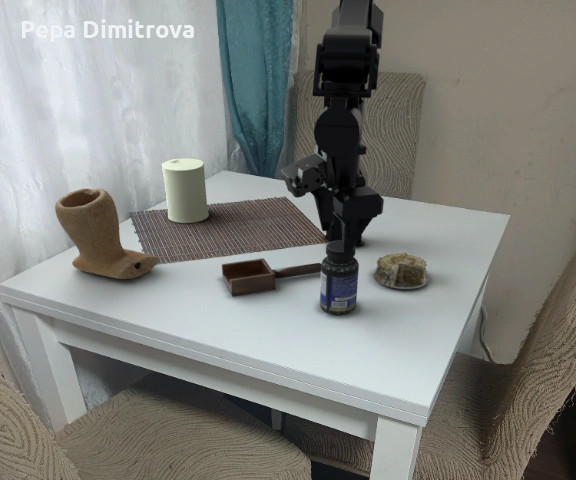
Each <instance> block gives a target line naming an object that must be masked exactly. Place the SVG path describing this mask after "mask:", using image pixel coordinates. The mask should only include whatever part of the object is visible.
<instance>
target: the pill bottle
mask: <svg viewBox="0 0 576 480" xmlns="http://www.w3.org/2000/svg"><path fill="white" fill-rule="evenodd" d="M356 250H357V246H355V247H354V248H353V250H352V252H351V253H346V254H345V253H344V251H343V242H342V240H338V241H332V242H328V243H326V245H325V254H326V256H325V257H324V258H323V259H322V261H321V262H320V263H321V272H320V286H319V287H320V288H319V290H320V291H319V306H320V309H321V310H322V311H323V312H325V313H327V314H330V315H333V316H334V315H335V316H344V315H349V314H351V313H352V312H354V311H355V310H356V307H357V298H358V283H359V271H360V270H359V269H360V264H359V261H358V260H357V258H356V257H355V256H356V253H357V252H356Z"/></svg>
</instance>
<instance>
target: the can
mask: <svg viewBox="0 0 576 480" xmlns="http://www.w3.org/2000/svg"><path fill="white" fill-rule="evenodd" d="M161 169H162V176H163V183H164V190H165V197H166V205H167V206H166V207H167V219H168V220H170V221H171V222H174V223H176V224H177V223H178V224H195V223H199V222H202V221H204V220H207V218H209V215H210V213H209V210H208V209H209V208H208V199H207V188H206V175H205V162H204V161H203V160H201V159H197V158H191V157H188V158H187V157H181V158H173V159H169V160H166V161H164V162H162V163H161Z"/></svg>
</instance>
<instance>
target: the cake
mask: <svg viewBox="0 0 576 480" xmlns="http://www.w3.org/2000/svg"><path fill="white" fill-rule="evenodd" d="M427 265H428V264H427V261H426V260H425V259H424V258H421V257H420V256H417V255H413V254H408V253H407V252H404V253H403V252H402V253H389V254H386V255H384V256H379V257H378V259H377V260H376V268H375V272H374V273H373V279H374V281H375V282H377V283H378V284H379V285H382V286H385V287H388V288H393V289H400V290H412V289H417V288H421V287H424V286H426V284H428V283H429V282H428V281H429V279H428V277H427V276H426V275H427V272H428V271H427Z"/></svg>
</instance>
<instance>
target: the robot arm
mask: <svg viewBox="0 0 576 480" xmlns="http://www.w3.org/2000/svg"><path fill="white" fill-rule="evenodd" d="M384 18H385V12H384V11H383V10H382V9H381V8H380V7H379V6H378V5H377V4H376V3H375V1H374V0H339V4H338V5H337V6H336V7H335V8H334V9H333V11H332V12H331V20H330V21H331V22H330V28H328V29H326V30H325V32H324V33H323V35H322V39H321V42H318V43H317V45H316V51H315V61H314V64H315V65H314V73H313V83H312V97H322V98H323V100H322V109H321V111H320V113H319V115H318V116H317V119H316V121H315V125H314V127H313V137H314V141H315V144H314V151H313V154H310V155H308V156H305V157H302V158H301V159H300V158H299V159H298V160H296V161H294V162H292V163H291V164H288V165H285V166H284V167H282V168H281V169H280V172H281V174H282V177H283V180H284V183H285V185H286V189H287V191H288V192H289V193H291V195H292V196H293V197H294V198H302V197H304V196H306V195H307V194H309V193H310V194H311V195H312V196H313V199H314V202H315V206H316V210H317V214H318V219H319V223H320V228H321V231H322V232H325V235H324V239H325V240H326V241H327V242H328V243H329V242H332V241H338V240H342V242H343V251H344V253H345V254H346V253H351V252H352V250H353V248H354V247H355V246H356V247H363V246H365V245H366V243H365V242H366V241H364V240H363V239H362V238H363V233H364V232H365V231H366V229H367V227H368V226H369V225H370V223H371V222H372V220H373V219H374V218H377V217H378V216H379V215H382V214H383V213H384V203H385V202H384V201H385V199H384V198H383V197H382V196H381V195H380V194H379V193H378V191H376V190H375V189H373V188H371V187H370V186H368V185H367V179H368V178H367V175H368V174H367V172H366V171H365V168H364V166H363V165H362V162H361V156H364V155H367V146H366V145H364V144H362V141H363V140H362V139H363V128H364V113H365V99H371V98H372V95H373V91H377V88H378V80H379V79H378V77H379V68H380V59H381V58H380V57H381V54H380V53H379V52H378V50H382V45H383V44H382V43H383V33H384V20H385V19H384ZM366 86H367V88H366Z"/></svg>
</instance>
